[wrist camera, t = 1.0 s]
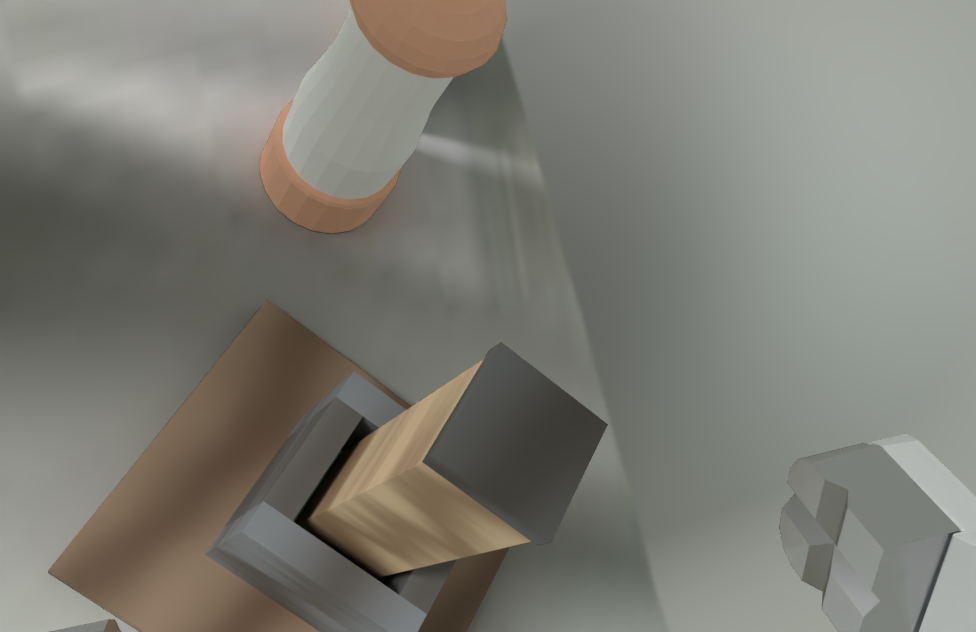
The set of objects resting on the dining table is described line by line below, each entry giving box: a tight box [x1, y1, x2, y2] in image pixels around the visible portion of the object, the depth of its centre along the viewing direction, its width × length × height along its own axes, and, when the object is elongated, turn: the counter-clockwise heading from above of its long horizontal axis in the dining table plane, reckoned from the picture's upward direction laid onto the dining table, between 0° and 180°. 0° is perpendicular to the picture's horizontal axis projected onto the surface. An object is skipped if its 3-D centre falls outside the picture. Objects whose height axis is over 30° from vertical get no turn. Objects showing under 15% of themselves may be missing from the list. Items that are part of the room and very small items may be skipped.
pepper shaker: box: [260, 0, 507, 234], centre depth 44 cm, size 7×7×19 cm
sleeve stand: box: [48, 300, 509, 632], centre depth 41 cm, size 18×16×10 cm
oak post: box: [293, 343, 608, 578], centre depth 35 cm, size 4×4×21 cm
